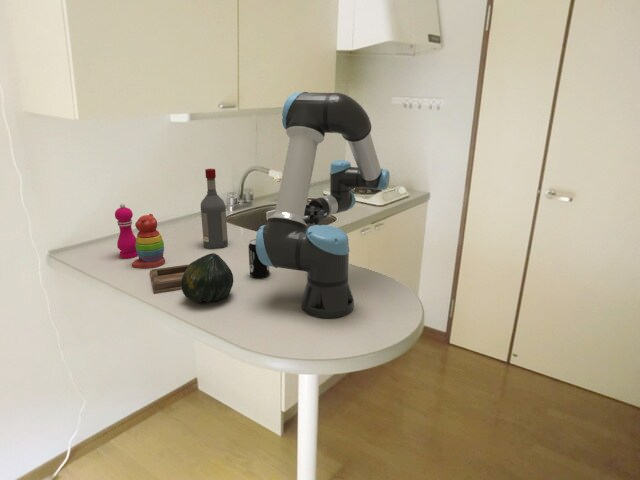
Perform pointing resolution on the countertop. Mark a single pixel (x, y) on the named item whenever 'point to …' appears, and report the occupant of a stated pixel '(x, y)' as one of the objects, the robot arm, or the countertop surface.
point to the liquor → (213, 216)
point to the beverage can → (256, 262)
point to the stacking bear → (148, 243)
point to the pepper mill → (125, 233)
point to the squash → (207, 279)
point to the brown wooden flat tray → (167, 278)
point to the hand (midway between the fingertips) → (280, 220)
